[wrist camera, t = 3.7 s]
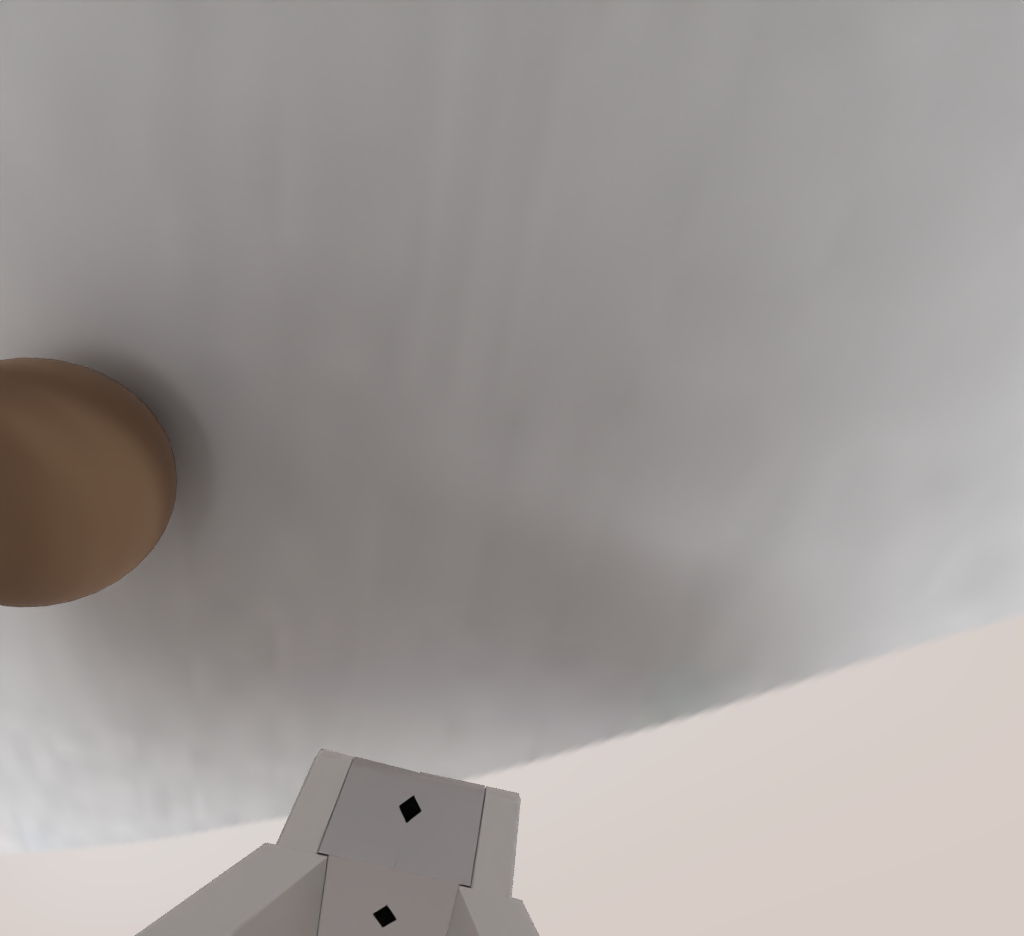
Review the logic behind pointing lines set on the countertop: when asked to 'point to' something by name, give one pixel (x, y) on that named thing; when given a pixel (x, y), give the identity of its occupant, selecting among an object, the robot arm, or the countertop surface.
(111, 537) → the ball
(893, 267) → the countertop surface
